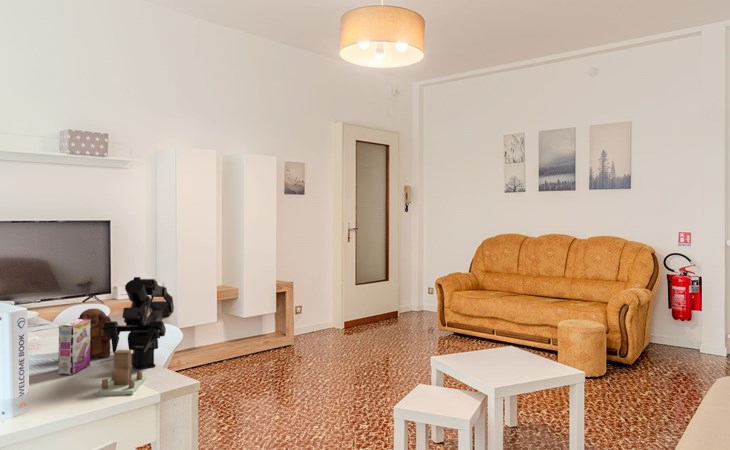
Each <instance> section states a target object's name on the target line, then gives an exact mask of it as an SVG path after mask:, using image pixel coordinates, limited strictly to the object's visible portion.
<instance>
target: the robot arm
mask: <svg viewBox="0 0 730 450" xmlns="http://www.w3.org/2000/svg"><path fill="white" fill-rule="evenodd" d="M124 290H125V292H126V294H127V297H128V300H129V301H130V302H131V305H130V307H123V309H122V319H123V323H125V324H123V325H121V324H119V323H118V321H116V320H114V321H112V320H111V321H106V322H104V324H103V326H102V329H103V331H104V333H105V335H106V336H107V337H109V338H110V339H111V340H110V342H111V349H112V353H113V354H114V353H115V352H116V351H117V350H118V349H117V347H118V345H119V341H120V337H119V336H120V335H121V334H120V333H122V332H123V333H124V332H125V333H126V332H129V333H128V334H127V343H128V345H127V347H128V350H131V351H132V352H131V367H133V368H134V369H135V370H142V369H148V368H154V367H156V364H155V350H157V349H159V340H158V339H160V338H161V337H165V335H166V326H165V323H164V321H163V320H164V319H167V318H168V319H169V318H170V317H171V315H172V314H174V309H175V308H174V307H175V306H174V299H173V296H171V295H170V294H169V293H168V290H167V286H162V285H159V284H158V282H157V280H156V279H155V278H141V277H140V276H134V277H133V279H131V280H129V281H128V282H127V283H126V284H125V286H124ZM154 298H163V299H164V300H163V301H162V300H154ZM148 313H149V315H148Z"/></svg>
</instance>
